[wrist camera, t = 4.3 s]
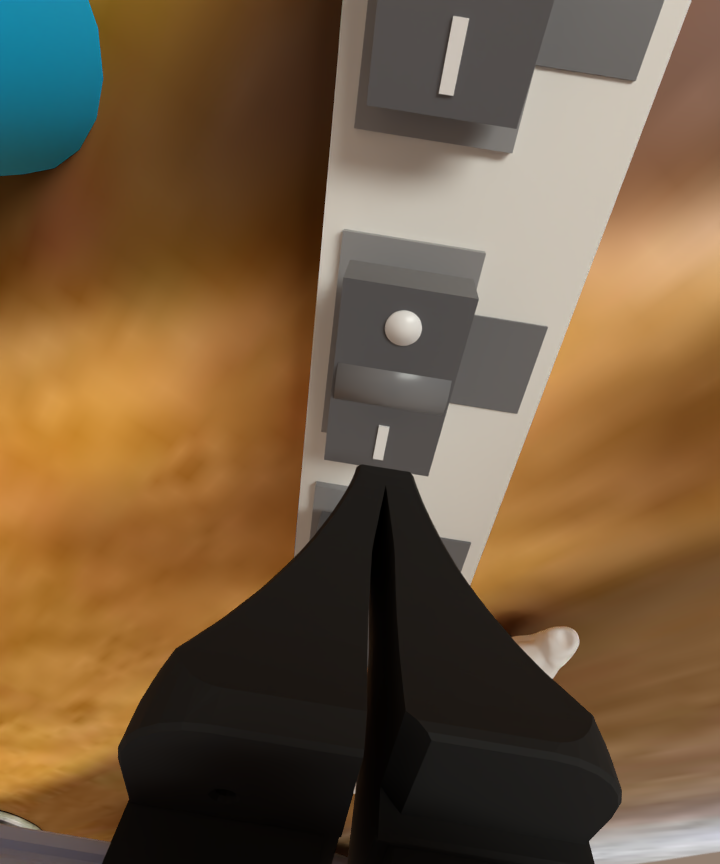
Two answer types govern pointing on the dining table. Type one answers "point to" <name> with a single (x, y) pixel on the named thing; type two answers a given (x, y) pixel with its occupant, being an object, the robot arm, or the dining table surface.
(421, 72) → the dark grey block
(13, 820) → the coffee can
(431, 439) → the rocker dark gray
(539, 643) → the white corn cob
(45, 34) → the mug
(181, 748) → the robot arm
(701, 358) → the dining table surface
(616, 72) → the power strip
